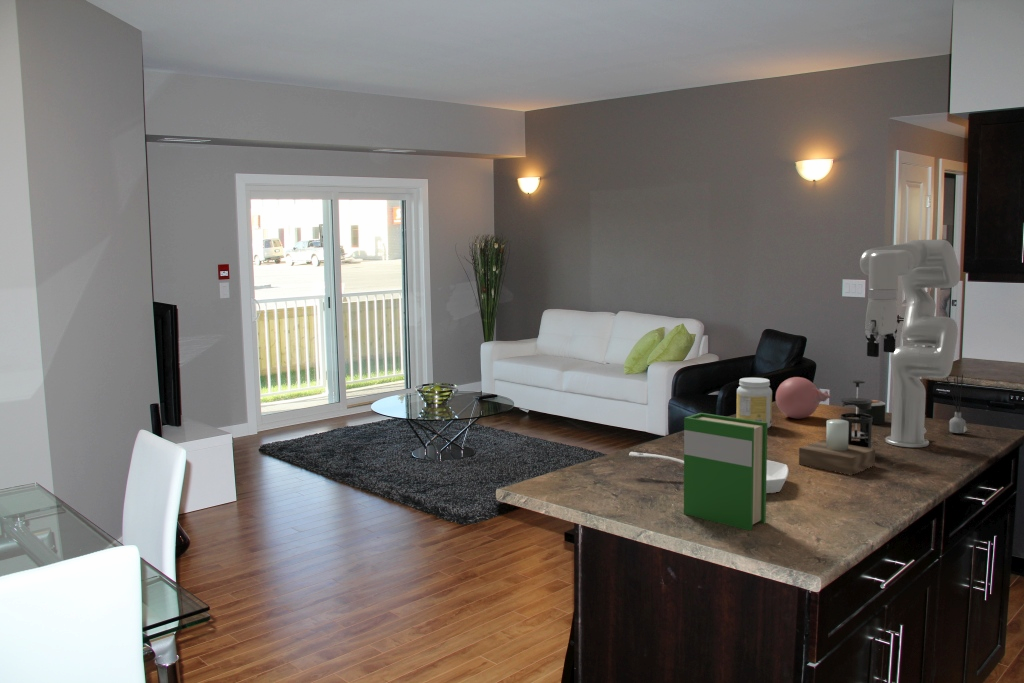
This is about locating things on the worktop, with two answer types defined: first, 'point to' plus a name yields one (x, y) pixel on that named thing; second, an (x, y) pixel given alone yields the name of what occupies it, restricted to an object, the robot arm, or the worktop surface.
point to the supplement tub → (754, 400)
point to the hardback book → (725, 469)
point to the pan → (773, 479)
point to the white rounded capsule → (837, 435)
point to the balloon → (799, 397)
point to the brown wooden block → (837, 458)
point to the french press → (859, 420)
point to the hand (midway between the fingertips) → (881, 354)
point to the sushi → (876, 412)
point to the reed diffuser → (957, 414)
